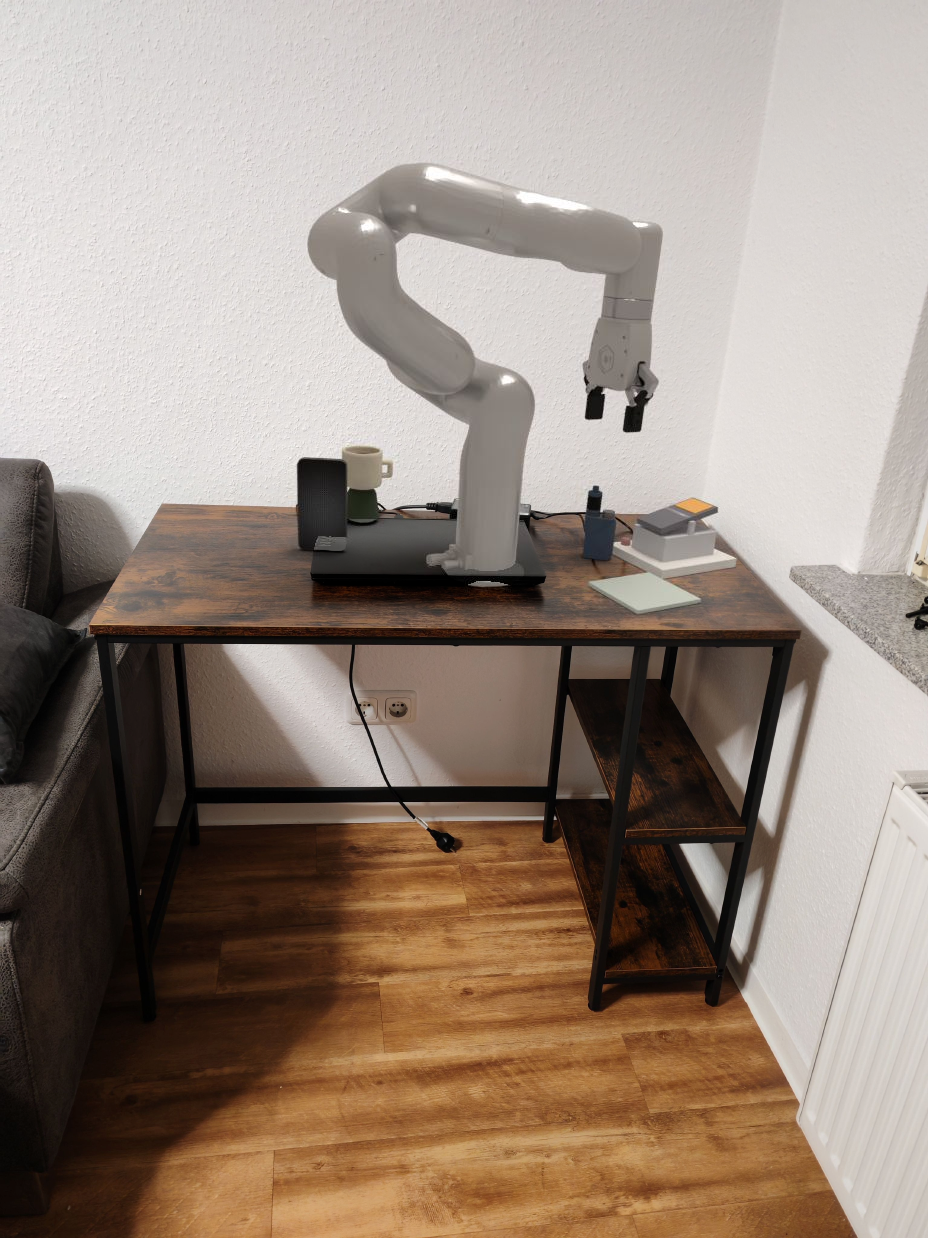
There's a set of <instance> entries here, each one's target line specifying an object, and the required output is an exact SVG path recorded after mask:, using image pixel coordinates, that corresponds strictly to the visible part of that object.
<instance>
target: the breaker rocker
mask: <svg viewBox="0 0 928 1238" xmlns="http://www.w3.org/2000/svg"><path fill="white" fill-rule="evenodd" d="M717 513H719V506H716V505H714V504H711V503H708V502H705V501H704V500H701V499H698V498H696V497H690V498H687V499H685V500H681V501H679V502H676V503H674V504H671V505H669V506H665V507H664V508H660V509H658V510H654V511H652V512H649V513H647V514H644V515H642V516H639V517H637V518H636V524H639V525H642V526H644V527H646V528H648V529H650V530H653V531H655V532H657V533H659V534H663V533H666V532H669V531H671V530H674V529H676V528H679V527H682V526H684V525H687V524H688V523H689V521H695V522H697V521H700V520H702V519H705V518H708V517H711V516H713V515H715V514H717Z"/></svg>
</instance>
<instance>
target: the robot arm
mask: <svg viewBox="0 0 928 1238" xmlns="http://www.w3.org/2000/svg"><path fill="white" fill-rule="evenodd" d="M308 233H309V234H308V237H307V252H308V256H309V259H310V261H311V263H312V265H313V266H314V267H315V269H316V270H317V271H318V272H319V273H321V274H322V275H323V276H325V277H327V278H329V279H331V280H335V282H336V293H337V299H338V304H339V307H340V310H341V313H342V314H341V315H342V316H343V319H344V320H345V323H346V324H347V327H348V328H349V330H350V331H351V333H352V334H353V335H354V336H355V337H356V338H357V339H358V340H359V341H360V342H361V343H362V344H364V345H365V347H367V348H369V349H370V350H372V352H374V353H375V354H377V356H379V357H380V358H382V359H383V360H384V361H385V362H386V366H387V367H388V369H389V371H390V373H391V374H392V376H394V378H395V379H396V380H398V381H399V382H400V383H401V384H402V385H404V386H405V387H407V388H408V389H410V390H411V391H413V392H414V393H416V394H417V395H419V397H421V398H423V399H425V400H426V401H428V402H429V403H430V404H432V405H433V406H434V407H436V408H438V409H439V410H441V411H442V412H444V413H446V414H447V415H448V416H450V417H452V418H454V419H455V420H457V421H460V422H462V423H463V424H466V425H468V430H467V433H466V437H465V440H464V443H463V444H462V445H463V446H462V450H461V453H460V460H459V471H458V472H459V473H458V474H459V475H458V476H459V480H458V495H457V496H458V497H457V510H456V511H457V516H456V531H455V532H456V533H455V543H450V544H449V547H448V548H449V549H448V550H445V551H444V553H443V552H442V553H431V554H427V555H426V557H425V558H426V560H425V561H426V565H427V564H429V565H430V566H434V567H436V566H435V565H441V564H442V565H441V569H442V568H443V569H444V570H447V569H452V568H464V569H465V570H467V569H475V570H479V571H498V570H504V569H507V568H510V567H512V566H513V565H514V564H515V561H516V559H517V550H518V549H517V548H518V547H517V546H518V536H519V535H518V534H519V523H520V522H519V521H520V511H521V502H522V501H521V500H522V491H523V490H522V488H523V474H524V466H525V465H524V464H525V457H526V456H525V455H526V448H527V443H528V439H529V435H530V431H531V428H532V423H533V420H534V415H535V410H536V401H535V400H536V399H535V394H534V392H533V388H532V387H531V384H530V383H529V382H528V380H527V379H525V378H524V376H522V375H521V374H520V373H518V372H517V371H514V370H513V369H511V368H507V367H506V366H505V367H504V366H501V365H498V364H494V363H492V362H491V363H490V362H487V361H485V360H481V359H480V358H478V357H476V356H475V353H474V350H473V348H472V347H471V344H470V343H469V342H468V341H467V339H466V338H465V337H464V336H463V335H462V334H461V333H459V332H458V331H457V330H455V329H453V328H452V327H450V326H449V325H447V324H446V323H444V322H443V321H441V320H440V319H439V318H437V317H436V316H435V315H434V314H432V313H431V312H429V311H428V310H427V309H425V308H423V307H422V306H421V305H420V304H419V303H418V302H417V301H416V300H414V299H413V298H411V296H410V295H408V293H406V292H405V290H404V289H403V287H402V285H401V283H400V280H399V275H398V267H397V266H398V264H397V260H398V259H397V258H398V253H397V246H396V245H397V244H398V243H399V242H400V241H402V240H403V239H404V238H405V237H407V236H409V235H410V234H418V235H423V236H427V237H432V238H435V239H439V240H443V241H447V242H450V243H455V244H459V245H464V246H467V247H471V248H475V249H479V250H483V251H486V252H489V253H493V254H497V255H502V256H508V257H513V258H520V259H536V260H546V261H553V262H558V263H560V264H562V266H563V267H565V268H567V269H569V270H571V271H574V272H578V273H585V274H597V275H604V277H605V279H604V286H603V287H604V288H603V295H602V296H603V297H602V303H601V305H602V306H601V313H600V317H598V318H597V321H596V324H595V327H594V331H593V335H592V339H591V343H590V348H589V349H590V350H589V356H588V358H587V360H585V361H584V362H583V363H582V366H581V367H582V372H583V376H584V377H583V382H584V384H585V389H584V390H585V393H586V403H585V404H586V405H585V412H584V419H585V420H588V421H592V420H593V421H594V420H602V419H603V416H604V411H605V410H604V409H605V402H606V393H603V392H604V391H605V390H607V389H608V390H611V391H615V392H624V394H625V396H626V399H627V402H628V405H626V406H625V409H624V417H623V425H622V432H623V433H626V434H628V433H640V432H641V431H642V428H643V427H642V426H643V420H644V414H645V407H647V406H648V405H649V401H650V400H652V398H653V397H654V393H655V392H656V389H657V388H658V386H659V383H660V381H659V378H658V377H657V376H656V375H655V374H654V373H653V371H652V370H651V364H652V363H651V361H652V348H653V346H652V345H653V329H652V328H653V327H652V315H653V308H654V300H655V295H656V287H657V281H658V273H659V266H660V259H661V253H662V246H663V245H662V244H663V237H664V236H663V234H664V233H663V229H662V226H660V224H658V223H656V222H652V221H651V222H650V221H642V220H641V221H640V220H630V219H628V218H627V217H625V216H623V215H619V214H616V213H613V212H610V211H606V210H603V209H600V208H598V207H597V208H596V207H592V206H589V205H586V204H582V203H578V202H573V201H570V200H566V199H562V198H557V197H553V196H549V195H546V194H544V193H540V192H537V191H533V190H529V189H524V188H520V187H516V186H512V185H509V184H505V183H502V182H499V181H497V180H491V179H488V178H486V177H483V176H482V177H481V176H479V175H477V174H476V175H475V174H473V173H469V172H466V171H463V170H459V169H455V168H453V167H450V166H449V167H448V166H445V165H443V164H438V163H433V162H416V163H405V164H399V165H396V166H394V167H392V168H389V169H388V170H386V171H385V172H383V173H382V174H380V175H379V176H378V177H376V178H374V179H373V180H371V181H370V182H368V183H367V184H365V185H364V186H363V187H361V188H360V189H358V190H357V191H355V192H354V193H352V194H351V195H350V196H347V198H345V199H343V200H342V201H341V202H339V203H337V204H336V205H334V206H333V207H331V208H330V209H328V210H327V211H326V212H324V213H323V214H322V215H320V216H319V217H318V218H317V219H316V221H314V223H313V224H312V226H311V227H310V230H309V232H308ZM635 393H636V395H635ZM443 569H442V570H443ZM444 570H443V571H444ZM468 586H471V587H479V588H487V587H503V586H509V585H508V584H504V583H500V582H491V581H476V582H474V583H471V584H468Z"/></svg>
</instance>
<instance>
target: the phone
mask: <svg viewBox="0 0 928 1238" xmlns="http://www.w3.org/2000/svg"><path fill="white" fill-rule="evenodd" d="M347 475H348V466H347V463H346V462H345V461H344V460H343V459H342V458H331V457H330V458H327V457H325V458H324V457H310V456H309V457H307V456H306V457H305V456H304V457H300V458H299V459H298V461H297V463H296V497H297V498H296V501H297V502H296V503H297V519H296V520H297V523H296V524H297V544H298V547H299V548H300V549H301V550H303V551H313V550H314V547H315V543H316V540H317V538H318V536H326V537H329V536H331V537H346V538H347V539H348V520H347V492H348V487H347Z"/></svg>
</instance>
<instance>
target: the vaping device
mask: <svg viewBox="0 0 928 1238" xmlns="http://www.w3.org/2000/svg"><path fill="white" fill-rule="evenodd" d="M603 494H604V493H603V491H601V490H600V486H599V485H592V489H591V490H590V489H589V490H588V492H587V499H586V500H587V501H586V507H585V514H584V515H585V516H584V521H583V523H584V525H583V526H584V528H585V533H584V541H583V549H582V550H583V551H582V555H581V556H582V558H585V559H586V558H587V559H592V560H598V561H604V562H605V561H609V560H611V557H612V556H613V554H612V553H613V545H614V542H615V536H616V529H617V520H616V519H617V518H616V510H613V509H603V510H601V509H602V500H603ZM601 511H602V513H601Z"/></svg>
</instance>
